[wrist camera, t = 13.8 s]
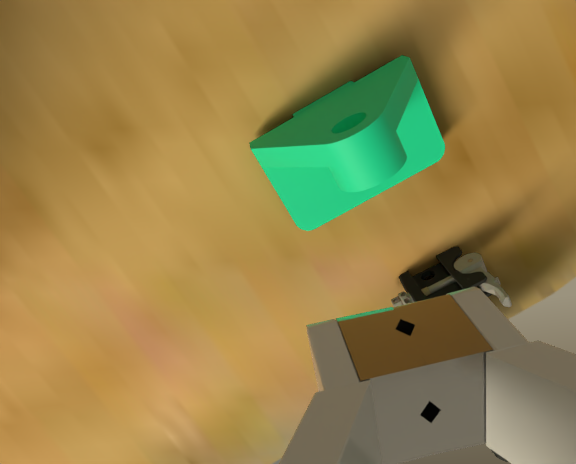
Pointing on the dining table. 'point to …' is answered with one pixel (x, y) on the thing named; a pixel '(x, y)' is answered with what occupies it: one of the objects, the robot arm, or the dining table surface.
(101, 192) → the dining table surface
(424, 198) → the dining table surface
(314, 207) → the camera mount
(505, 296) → the scope
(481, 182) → the dining table surface
